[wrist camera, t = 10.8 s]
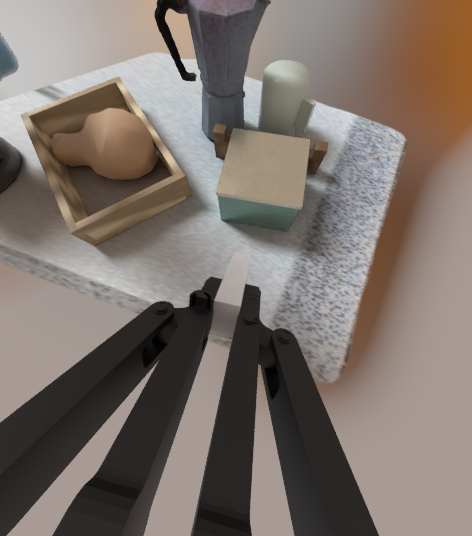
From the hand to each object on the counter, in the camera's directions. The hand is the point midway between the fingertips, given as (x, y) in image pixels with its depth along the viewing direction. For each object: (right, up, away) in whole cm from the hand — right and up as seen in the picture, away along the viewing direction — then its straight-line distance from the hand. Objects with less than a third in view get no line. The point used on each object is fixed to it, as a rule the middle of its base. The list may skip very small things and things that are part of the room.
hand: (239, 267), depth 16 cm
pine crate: (-24, +20, +21) cm, 38 cm away
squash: (-24, +20, +21) cm, 38 cm away
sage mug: (+9, +29, +23) cm, 39 cm away
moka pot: (-3, +30, +24) cm, 38 cm away
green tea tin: (+4, +13, +19) cm, 24 cm away
